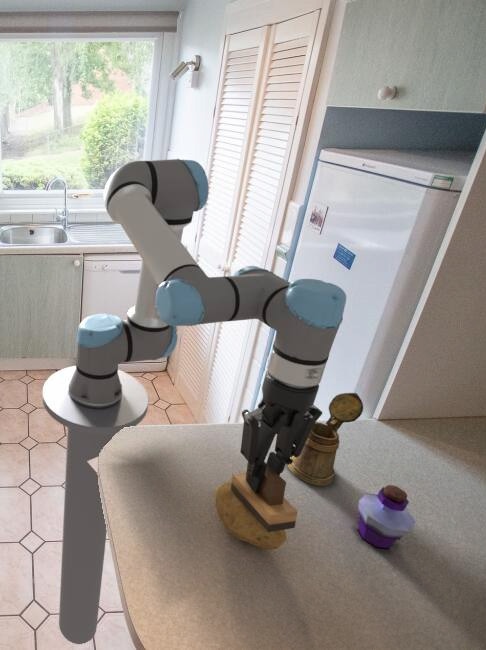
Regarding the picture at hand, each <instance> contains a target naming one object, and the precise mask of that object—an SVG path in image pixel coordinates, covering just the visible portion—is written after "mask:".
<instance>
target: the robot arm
mask: <svg viewBox="0 0 486 650" xmlns="http://www.w3.org/2000/svg"><path fill="white" fill-rule="evenodd" d="M208 180H209V179H208V176H207V174H206V171H205V169H204V167H203V166H202V164H200V162H198V161H196V160H193V159H181V158H175V159H155V160H154V159H153V160H150V159H149V160H143V159H142V160H133V161H129V162H127V163H124V164H123V165H121V166H119V167H118V168H116V170H115V171H113V173H112V174H111V175H110V177H109V178H108V180H107V182H106V184H105V187H104V191H103V203H104V204H103V205H104V208H105V211H106V212H107V214H108V215H109V218H110V219H111V220H112V221H113V222H114V223H116V224H118V225H120V227H121V228H122V230H123V231H124V233H125V234H126V236H127V238H128V239H129V240H130V242H131V243H132V245H133V247H134V248H135V250H136V252H137V253H138V255H139V257H140V258H141V262H140V269H139V270H140V271H139V275H138V283H137V289H136V295H135V302H134V306H133V307H131V308H130V309H129V310H128V312H127V318H126V319H124V320H122V319H121V318H120V317H118V316H117V315H116V314H115V315H114V314H108V313H98V314H92V315H90V316H87V317H86V318H83V320H82V321H81V322H80V323H79V325H78V329H77V334H76V357H75V359H76V360H75V361H76V362H75V366H76V369H75V372H74V374H73V376H72V378H71V381H70V383H69V390H68V392H69V396H70V398H71V399H72V400H73V401H74V402H75V403H77V404H79V405H81V406H83V407H86V408H90V409H106V408H110V407H113V406H115V405H116V404H118V403H119V402H120V400H121V398H122V383H120V379H119V376H118V370H119V364H125V363H132V362H133V363H134V362H143V361H156V360H157V361H158V360H159V359H165V358H168V357H169V356H171V355H172V353H174V351H175V349H176V347H177V343H178V334H177V332H178V328H177V327H194V326H198V325H206V324H207V325H208V324H216V323H226V322H227V323H228V322H239V321H247V320H248V321H249V320H258V321H260V322H262V323H263V324H265V325H266V326H268V327H269V328H270V329H273V330H275V337H274V341H273V344H272V348H271V352H270V355H269V359H268V363H267V366H266V369H267V370H266V371H265V375H264V379H263V382H262V386H261V393H262V398H261V400H260V401H259V402H258V404H257V408H255V409H253V410H251V411H250V410H249V409H243V410H242V411H241V416H242V419H243V427H242V436H241V442H240V443H241V444H240V454H241V455H242V456H243V458H244V459H245V460H246V461H247V464H248V462H249V464H248V467H247V466H246V472H247V471H248V472H249V474H248V477H247V481H246V482H247V483H248V485H249V486H250V487H251V488H252V490H253V491H254V492H255V493H259V491H260V488H261V484H262V481H263V478H264V475H265V471H266V468H267V465H268V466H269V467H271V468H272V469H273V470H274V471H275V472H276V473H277V474H278V475H279V476H280V477H281V474H282V473H283V472H284V470H285V468H286V465H287V466H288V465H290V464H292V463H293V461H292V460H291V459H290V457H292V456H294V457H298V456H300V454H301V452H302V450H303V447H304V445H305V443H306V441H307V439H308V437H309V434H310V432H311V430H312V428H313V426H314V424H315V422H318V420H319V418H321V417H322V415H323V411H322V410H321V409H320V408H319V407H317V406H316V405H315V401H316V398H317V395H318V392H319V389H320V385H319V384H321V381H322V378H323V375H324V372H325V370H326V366H327V364H328V360H329V357H330V354H331V350H332V348H333V344H334V342H335V339H336V336H337V333H338V331H339V329H340V326H341V325H342V322H343V319H344V318H343V316H344V312H345V309H346V308H345V307H346V304H347V294H346V292H345V291H344V289H342V288H341V287H340V286H339V285H337V284H335V283H331V282H325V281H324V280H320V279H315V278H299V279H295V280H293V281H291V282H290V281H288V280H286V279H284V278H283V277H280V276H279V275H277V274H276V273H274V272H273V271H271V270H268V269H265V268H262V267H259V266H257V265H247V266H244V267H241V268H240V269H238V270H236V271H235V272H233V274H232V275H226V276H211V277H210V276H208V275H207V273H205V271H204V270H203V269H202V267H201V266H200V265H199V264H198V263H197V261H196V260H195V258H194V257H193V256H192V254H191V253H190V252H189V250H188V249H187V248H186V247H185V245H184V243H182V238H183V234H184V229H185V227H187V226H188V225H190V224H191V223H192V221H193V217H194V212H195V213H196V212H199V211H200V210H202V209H203V208H204V207H205V206H206V204H207V203H208V199H209V189H210V187H209V181H208ZM275 437H276V440H275ZM274 440H275V445H274V451H270V449H271V446H272V444H273V442H274ZM269 451H270V452H269ZM267 456H268V457H267ZM266 458H267V461H266ZM265 461H266V462H265Z"/></svg>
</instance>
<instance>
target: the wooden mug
mask: <svg viewBox="0 0 486 650" xmlns="http://www.w3.org/2000/svg"><path fill="white" fill-rule="evenodd" d="M328 412H329V415H330V416H329V418H328V419H327V421H326V422H325V423H322V422H318V421H316V422H315V424H314V426H313V428H312V430H311V432H310V434H309V437H308V439H307V441H306V443H305V445H304V447H303V450H302V452H301V454H300V456H298V457H294V456H292V457H290V459H291V460H292V461H293V463H292V464H290V465H288V464H287V466H288V469H289V470H290V471H291V473H292V474H293V475H294V476H296V477H297V478H299V480H302V481H304V482H306V483H309V484H312V485H315V486H327V485H329V484H330V483H332V481H334V475H335V469H334V467H335V461H336V456H337V451H338V450H339V447H340V435H339V433H338V430H339V429H340V428H341V427H342V425H343V424H344V423H351V422H355V421H356V420H358V419H359V418H360V417H361V415H362V414H363V412H364V403H363V401H362V399H361V397H360V395H358V393H357V392H344V393H343V392H342V393H339V394H337V395H335V396H334V397H333V398H332V399H331V401H330V403H329V404H328Z"/></svg>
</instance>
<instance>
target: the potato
mask: <svg viewBox="0 0 486 650" xmlns="http://www.w3.org/2000/svg"><path fill="white" fill-rule="evenodd" d="M231 484H232V481H228V482H223V483H221V485H220V486H218V487H217V488H216V490H215V492H214V503H215V507H216V511H217V513H218V516H219V517H218V518H219V519H220V521H221V523H222V524H223V525H224V527H225V528H226V530H227V531H228V532H229V533H230V534H231V535H232V536H234V537H235V538H237V540H241V541H243V542H245V543H248V544H250V545H252V546H254V547H257V548H260V549H263V550H278V549H279V548H280V547H281V546H282V545H283V544H285V543H286V542H287V541H288V537H287V533H286V530H279V531H273V532H268V531H267V530H266V529H265V528H264V527H263V526H262V524H261V523H260V522H259V521H258V520H257V519H256V518H255V516H254V515H253V514H252V513H251V512H250V511H249V510H248V508H247V507H246V506H245V505H244V504H243V503H242V502H241V500H240V499H239V498H238V497H237V496H236V495H235V494H234V492H233V491H232V490H231Z"/></svg>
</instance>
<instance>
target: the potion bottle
mask: <svg viewBox="0 0 486 650" xmlns="http://www.w3.org/2000/svg"><path fill="white" fill-rule="evenodd" d="M409 502H410V501H409V499H408V494H407V493H406V491H405V490H404V489H402V488H400V487H398V486H397V485H391V484H388V485H386V486H385V487H384V486H383V487H382V488H381V489H380V490H379V491H378V492H377V493H369V492H367V493H365V494H364V495H363V496H362V497H361V498H360V499H359V500H358V510H357V514H358V516H359V518H358V528H357V532H358V534H359V536H360V538H361V540H362V541H364V542H365V543H367V544H368V545H370V546H371V547H373V548H374V549H379V550H387V551H389V550H390V548H391V547H392V546H393V545H394V543H395V542H396V541H400V540H401V539H402V538H403V537H405V536H406V535H407V534H408V533H409V532H410V531H411V530H412V528H413V527H414V526H415V524H417V521H416V520H415V518H414V517H413V515H412V514H411V512H410V511H409V510H408V508H407V507H408V505H409Z"/></svg>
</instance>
